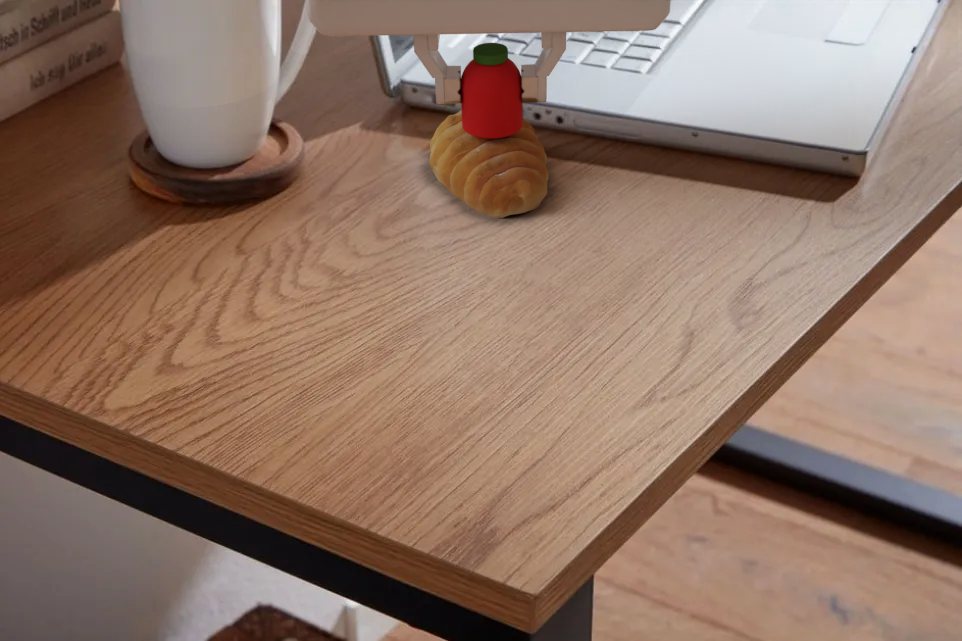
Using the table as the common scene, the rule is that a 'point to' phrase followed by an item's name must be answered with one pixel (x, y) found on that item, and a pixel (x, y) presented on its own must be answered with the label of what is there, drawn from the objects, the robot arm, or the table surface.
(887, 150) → the table surface
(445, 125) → the pastry
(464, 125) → the red sauce bottle
